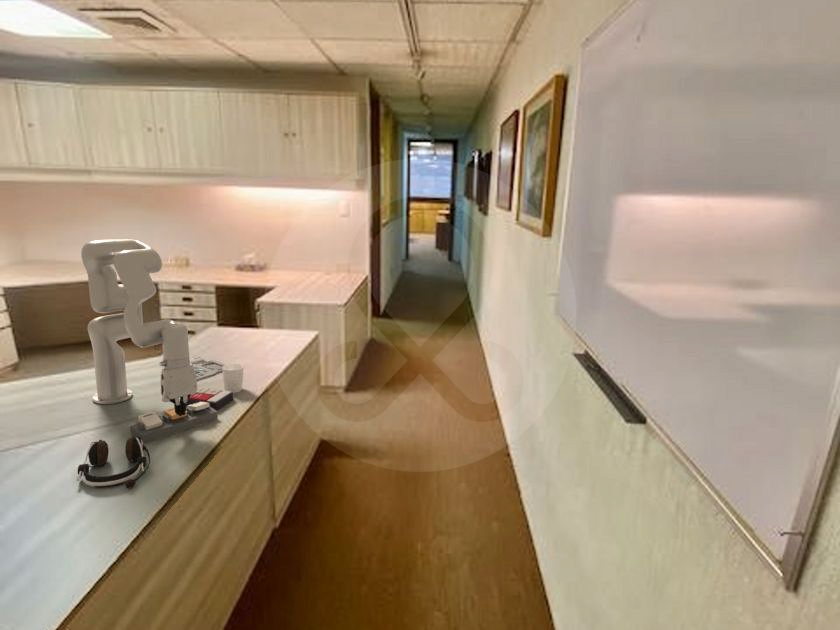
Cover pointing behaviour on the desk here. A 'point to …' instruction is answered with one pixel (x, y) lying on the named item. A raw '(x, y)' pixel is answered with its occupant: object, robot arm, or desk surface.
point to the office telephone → (204, 368)
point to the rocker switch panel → (174, 424)
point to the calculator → (211, 397)
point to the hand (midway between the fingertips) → (180, 414)
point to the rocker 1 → (150, 420)
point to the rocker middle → (173, 414)
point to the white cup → (233, 377)
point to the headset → (100, 456)
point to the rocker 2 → (198, 406)
